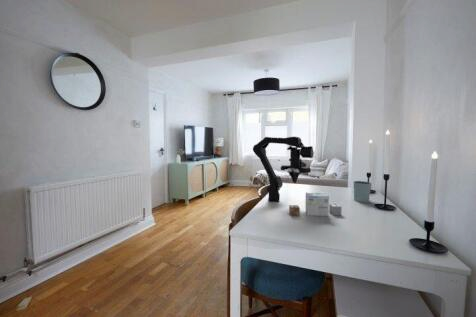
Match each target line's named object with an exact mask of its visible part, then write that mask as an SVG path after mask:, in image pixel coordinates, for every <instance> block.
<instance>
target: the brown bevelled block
mask: <svg viewBox="0 0 476 317" xmlns="http://www.w3.org/2000/svg"><path fill="white" fill-rule="evenodd" d="M288 208H289V209H288V215H289V216H290V217H300V212H301V211H300V210H301V208H300V207H299V205H297V204H289V205H288Z"/></svg>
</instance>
